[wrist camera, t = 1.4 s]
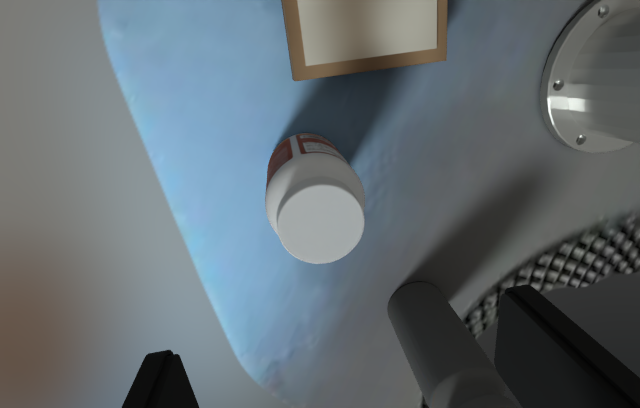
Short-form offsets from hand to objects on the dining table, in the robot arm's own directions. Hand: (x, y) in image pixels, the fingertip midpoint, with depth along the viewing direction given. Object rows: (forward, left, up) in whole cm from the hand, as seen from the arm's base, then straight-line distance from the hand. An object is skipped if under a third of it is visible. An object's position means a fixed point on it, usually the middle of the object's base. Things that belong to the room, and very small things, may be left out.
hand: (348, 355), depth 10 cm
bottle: (-9, +16, -20) cm, 27 cm away
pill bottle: (0, 0, -20) cm, 20 cm away
